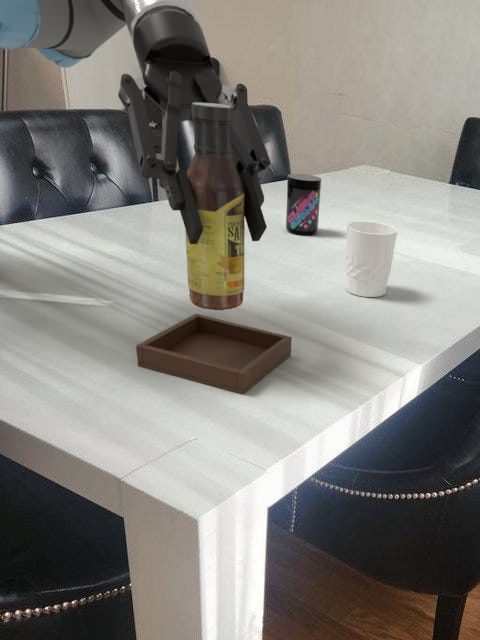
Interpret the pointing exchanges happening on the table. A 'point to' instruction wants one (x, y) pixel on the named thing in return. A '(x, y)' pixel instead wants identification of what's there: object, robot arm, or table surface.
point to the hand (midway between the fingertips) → (228, 235)
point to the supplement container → (303, 204)
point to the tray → (215, 352)
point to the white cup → (369, 257)
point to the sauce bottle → (216, 212)
